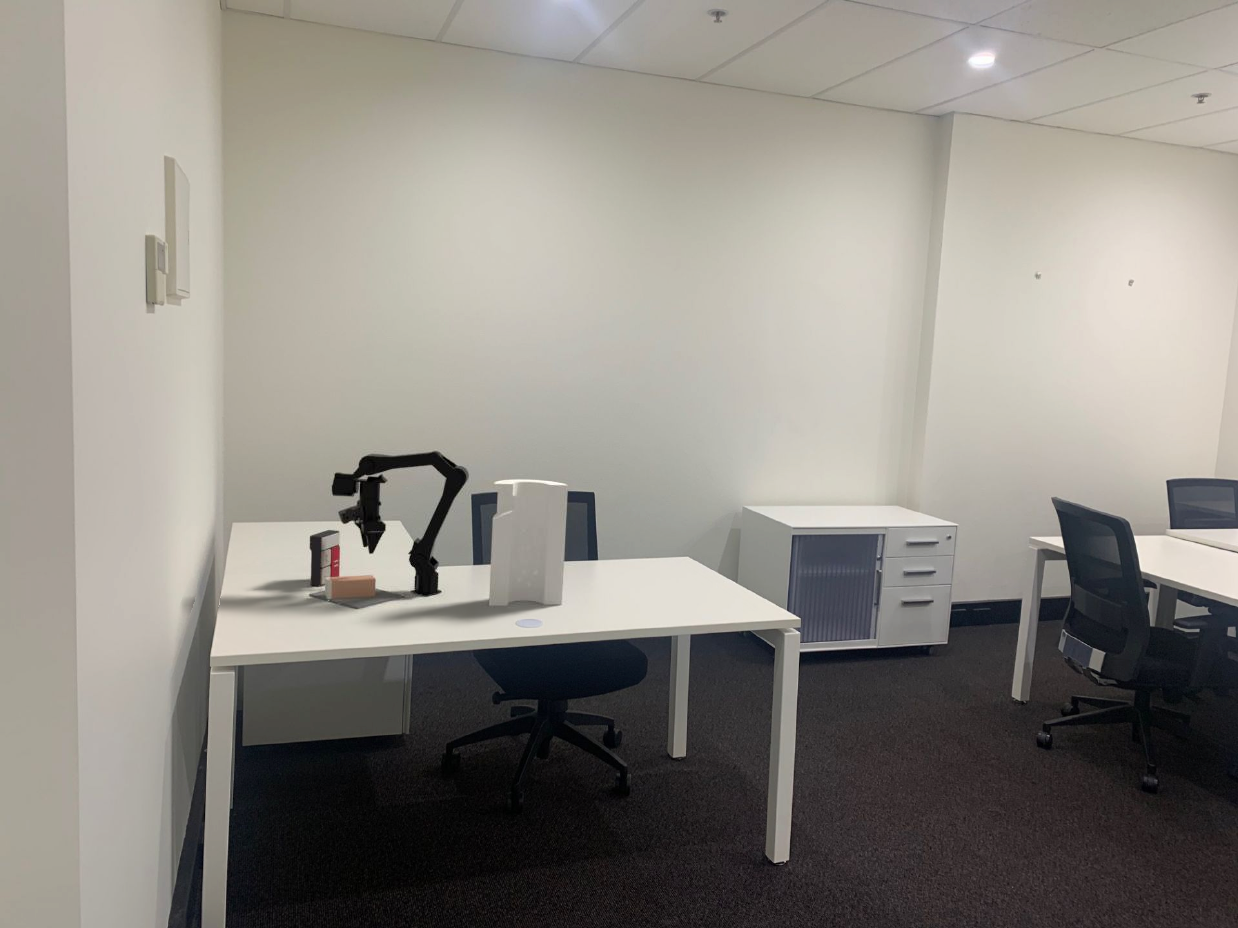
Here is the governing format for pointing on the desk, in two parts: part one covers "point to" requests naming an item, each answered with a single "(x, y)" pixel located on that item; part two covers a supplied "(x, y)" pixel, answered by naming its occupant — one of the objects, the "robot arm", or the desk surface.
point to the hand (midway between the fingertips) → (368, 550)
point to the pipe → (528, 542)
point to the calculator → (324, 556)
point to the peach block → (349, 586)
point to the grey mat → (362, 599)
